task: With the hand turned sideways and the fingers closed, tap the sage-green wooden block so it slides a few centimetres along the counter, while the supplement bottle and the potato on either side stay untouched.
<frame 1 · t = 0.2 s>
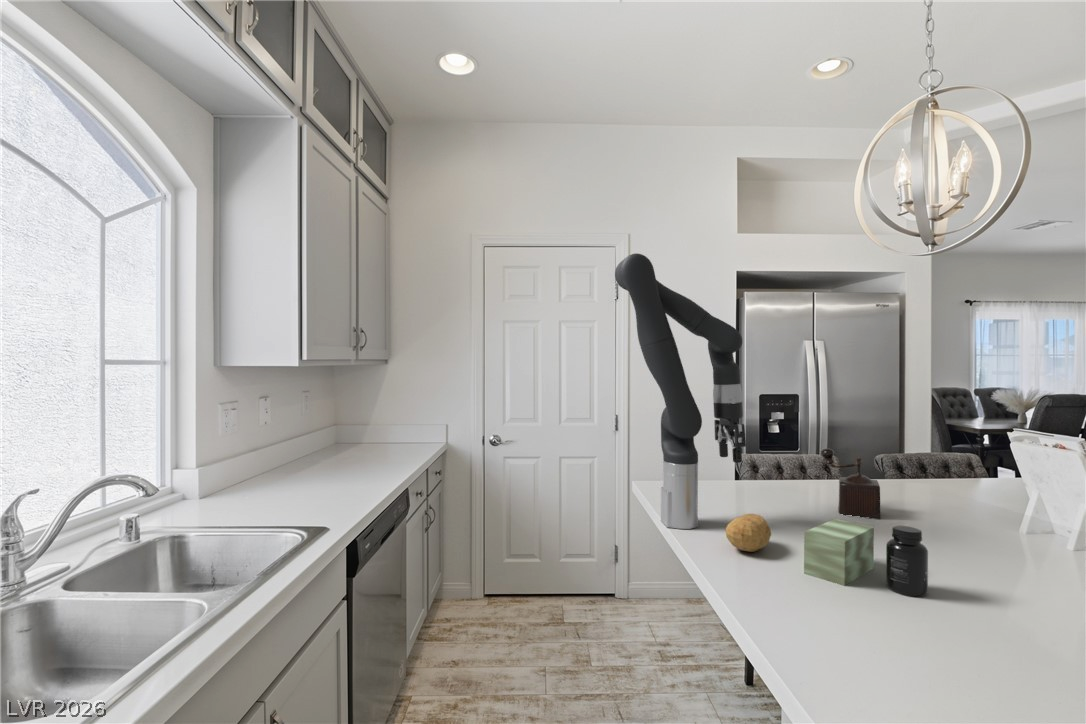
hand: (730, 459, 148), 18 cm above the table, tool pointing down, fingers open, 8 cm apart
wooden coffee grinder: (849, 512, 162), on the table
sage-green block: (839, 571, 116), on the table
supplement bottle: (906, 591, 106), on the table
potato: (748, 550, 129), on the table
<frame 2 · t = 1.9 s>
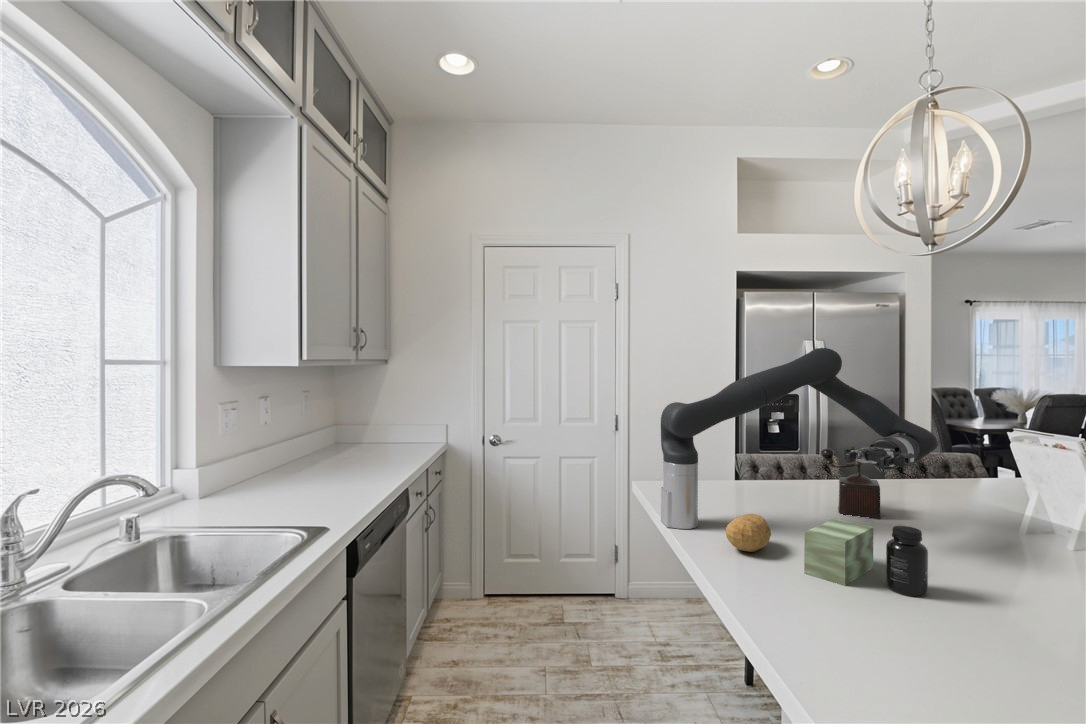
hand: (864, 460, 124), 22 cm above the table, tool horizontal, fingers open, 6 cm apart
nothing on the table moved.
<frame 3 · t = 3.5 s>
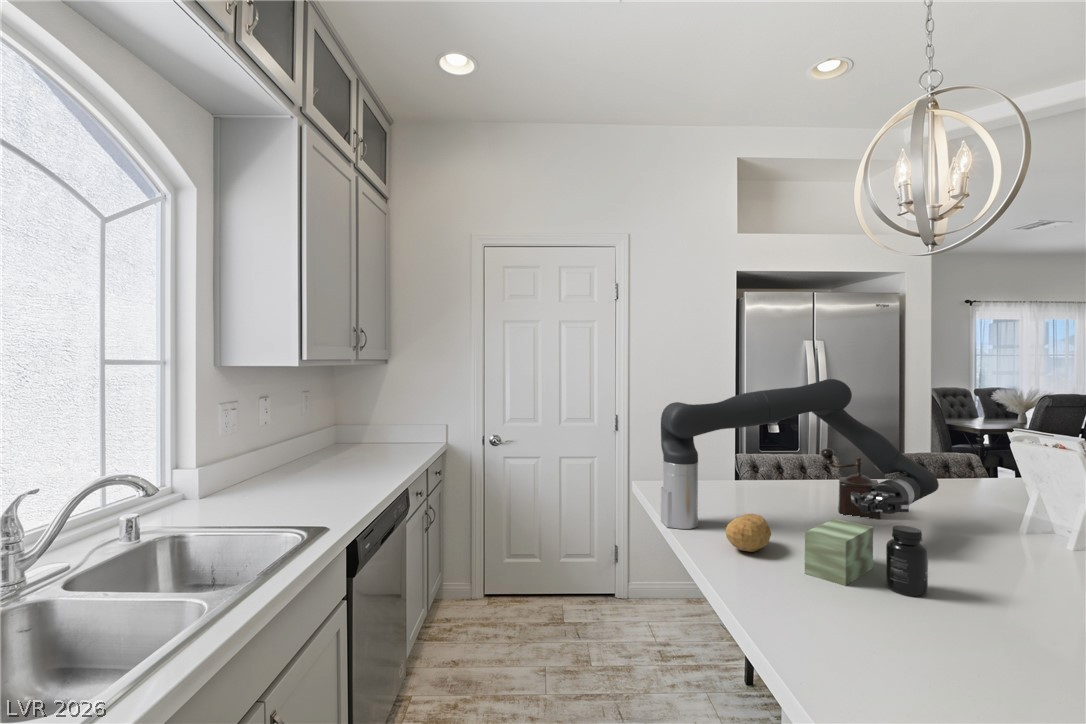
hand: (864, 508, 123), 11 cm above the table, tool horizontal, fingers closed
nothing on the table moved.
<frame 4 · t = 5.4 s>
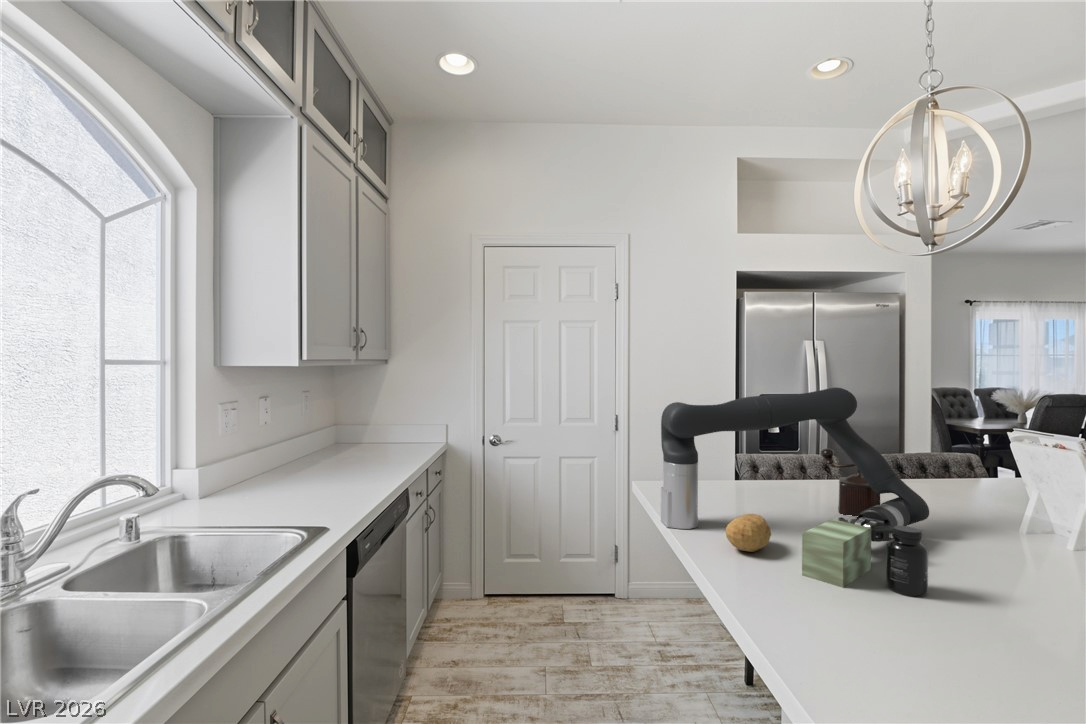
hand: (851, 536, 120), 6 cm above the table, tool horizontal, fingers closed
sage-green block: (837, 572, 115), on the table, touching gripper
everything else where it was.
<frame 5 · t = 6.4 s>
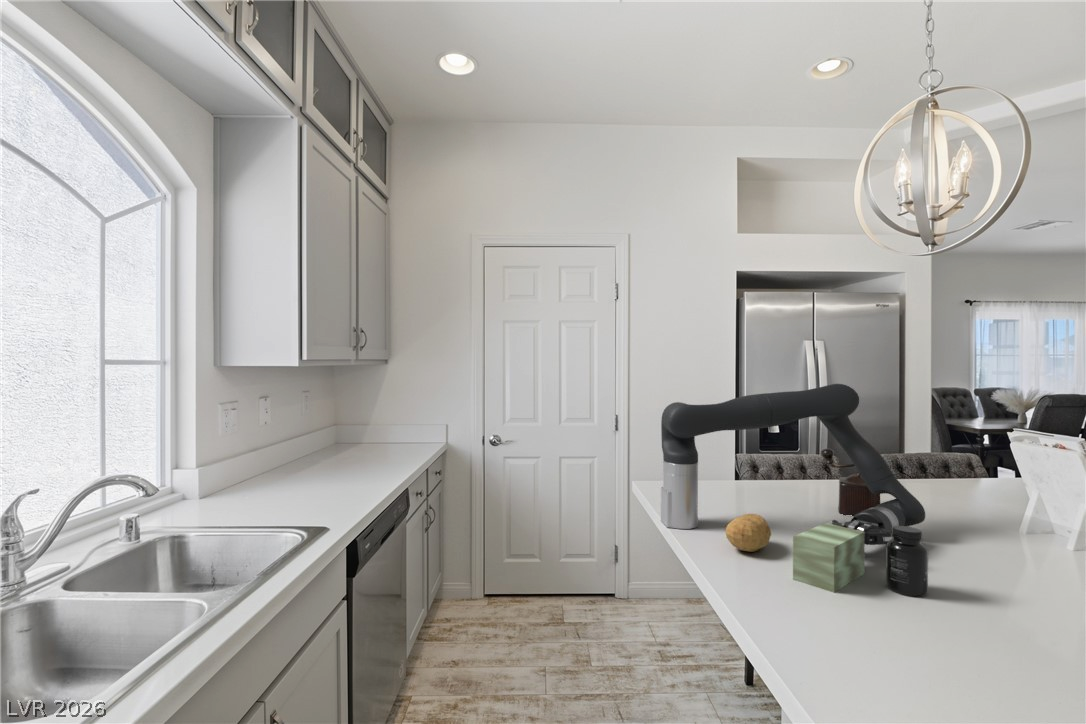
hand: (844, 539, 117), 6 cm above the table, tool horizontal, fingers closed
sage-green block: (829, 577, 112), on the table
everything else where it was.
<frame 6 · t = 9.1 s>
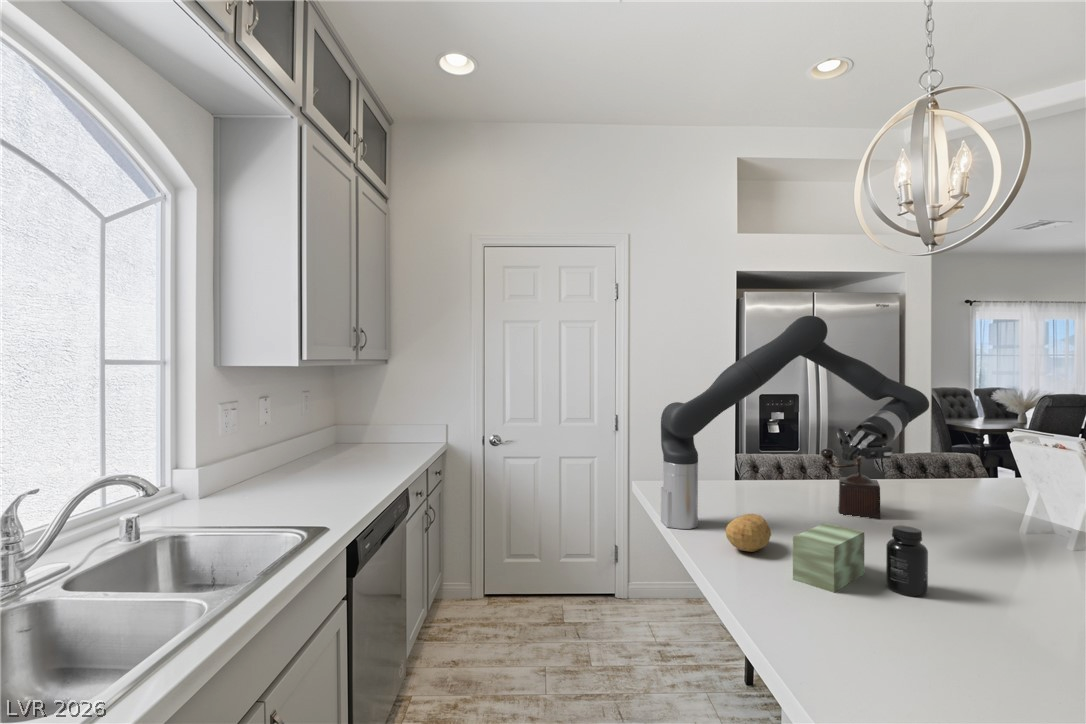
hand: (846, 457, 125), 23 cm above the table, tool tilted 75°, fingers closed
nothing on the table moved.
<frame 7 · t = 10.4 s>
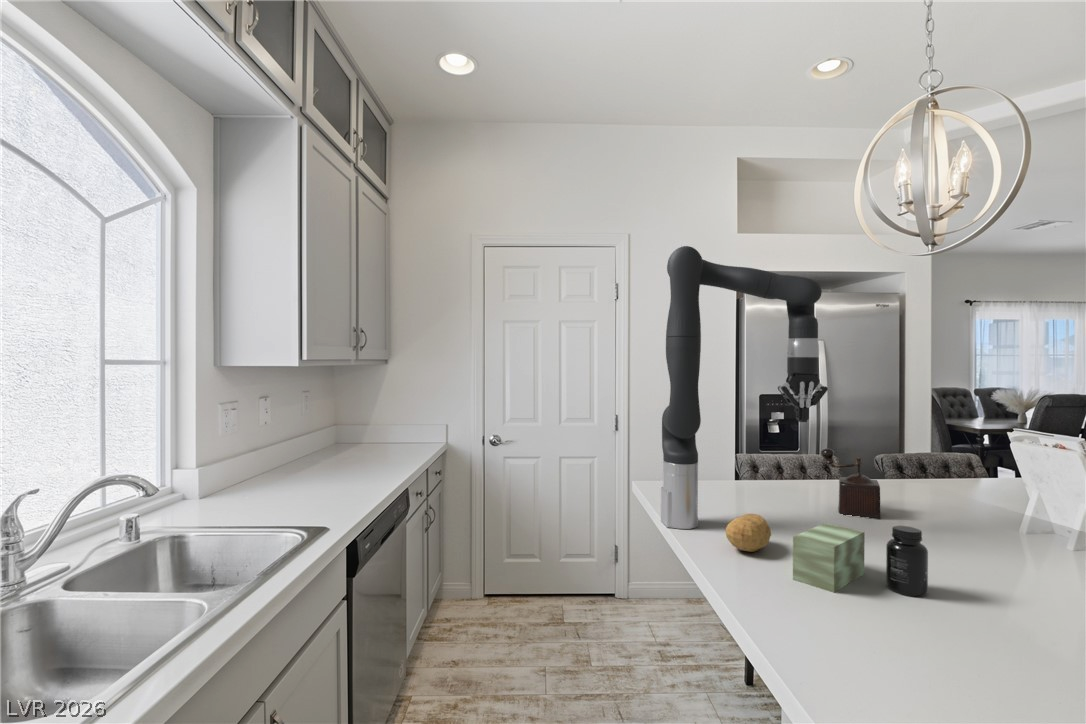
hand: (802, 421, 142), 29 cm above the table, tool pointing down, fingers closed
nothing on the table moved.
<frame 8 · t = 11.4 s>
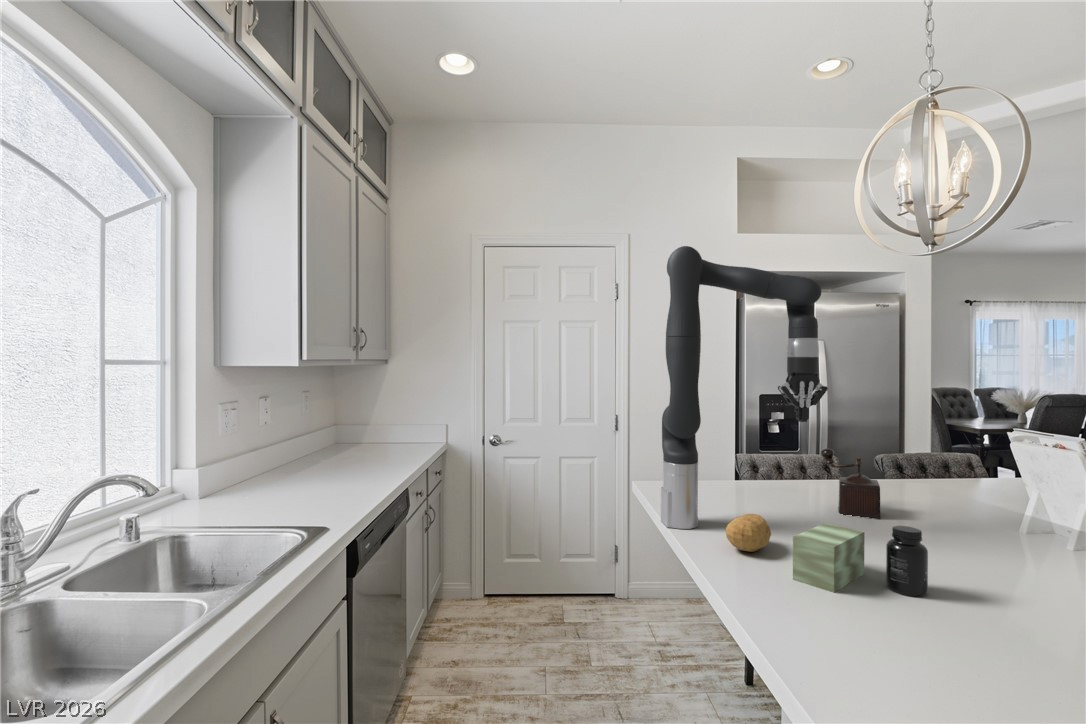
hand: (802, 421, 142), 29 cm above the table, tool pointing down, fingers closed
nothing on the table moved.
at the end: sage-green block moved 5.0 cm from its start; sage-green block tilted 0°; supplement bottle moved 0.2 cm from its start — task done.
